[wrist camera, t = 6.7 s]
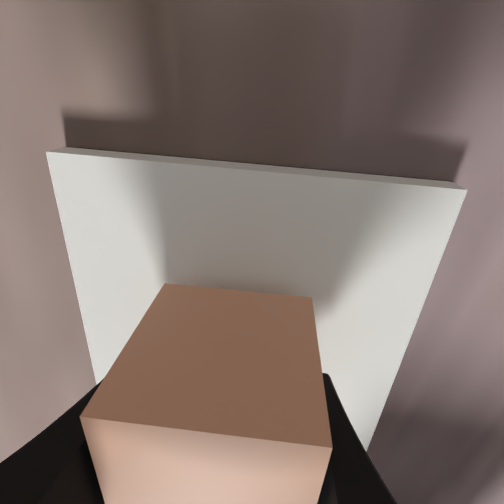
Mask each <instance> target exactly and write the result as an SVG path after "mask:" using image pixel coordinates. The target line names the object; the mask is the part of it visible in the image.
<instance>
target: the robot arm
mask: <svg viewBox="0 0 504 504" xmlns="http://www.w3.org/2000/svg"><path fill="white" fill-rule="evenodd" d="M322 375H323V382H324V389H325V396H326V403H327V411H328V418H329V425H330V432H331V439H332V447H333V449H332V452H331V456H330V459H329V463H328V467H327V470H326V474H325V477H324V481H323V485H322V488H321V492H320V495H319V499H318V502H317V504H397V503H396V501H395V500H394V498H393V497H392V495H391V493H390V492H389V490H388V489H387V487H386V485H385V484H384V482H383V480H382V479H381V477H380V475H379V474H378V472H377V470H376V468H375V467H374V465H373V463H372V462H371V460H370V458H369V456H368V454H367V453H366V451H365V449H364V447H363V445H362V443H361V441H360V440H359V438H358V436H357V434H356V432H355V430H354V428H353V426H352V424H351V422H350V420H349V418H348V416H347V414H346V412H345V410H344V408H343V406H342V403H341V401H340V399H339V397H338V394H337V392H336V390H335V387H334V385H333V383H332V380H331V377H330V376H329V375H328V374H327V373H322ZM102 381H103V380H101V381H100V382H99V383H98V384H97V385H96V386H95V387H94V388H93V389H92V390H90V391H89V392H88V393H87V394H86V395H85V396H84V397H83V398H82V399H80V400H79V401H78V402H77V403H76V404H75V405H74V406H72V407H71V408H70V409H69V410H68V411H66V412H65V413H64V414H63V415H62V416H60V417H59V418H58V419H57V420H56V421H54V422H53V423H52V424H51V425H50V426H48V427H47V428H46V429H45V430H43V431H42V432H41V433H40V434H38V435H37V436H36V437H35V438H33V439H32V440H31V441H29V442H28V443H27V444H25V445H24V446H23V447H21V448H20V449H19V450H17V451H16V452H15V453H13V454H12V455H11V456H9V457H8V458H7V459H5V460H4V461H2V462H1V463H0V504H105V502H104V499H103V495H102V492H101V488H100V485H99V482H98V478H97V475H96V471H95V468H94V464H93V461H92V458H91V454H90V451H89V447H88V444H87V440H86V437H85V434H84V430H83V427H82V423H81V420H80V415H81V414H82V412H83V411H84V409H85V407H86V406H87V404H88V403H89V401H90V400H91V398H92V396H93V395H94V393H95V392H96V390H97V389H98V387H99V385H100V384H101V382H102Z"/></svg>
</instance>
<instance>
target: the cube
mask: <svg viewBox="0 0 504 504" xmlns="http://www.w3.org/2000/svg"><path fill="white" fill-rule="evenodd" d="M80 420H81V423H82V427H83V430H84V434H85V437H86V440H87V444H88V447H89V451H90V454H91V458H92V461H93V464H94V468H95V471H96V475H97V478H98V482H99V485H100V488H101V492H102V495H103V499H104V502H105V504H317V502H318V499H319V495H320V492H321V488H322V485H323V481H324V477H325V474H326V470H327V467H328V463H329V459H330V456H331V452H332V449H333V447H332V439H331V432H330V425H329V418H328V411H327V403H326V396H325V389H324V382H323V375H322V367H321V360H320V353H319V346H318V338H317V331H316V324H315V317H314V310H313V302H312V297H301V296H291V295H281V294H271V293H260V292H250V291H240V290H229V289H219V288H209V287H199V286H188V285H178V284H168V283H164V285H163V286H162V288H161V289H160V291H159V293H158V294H157V296H156V297H155V299H154V300H153V302H152V304H151V305H150V307H149V308H148V310H147V311H146V313H145V315H144V316H143V318H142V319H141V321H140V323H139V324H138V326H137V327H136V329H135V330H134V332H133V334H132V335H131V337H130V338H129V340H128V341H127V343H126V345H125V346H124V348H123V349H122V351H121V352H120V354H119V356H118V357H117V359H116V360H115V362H114V363H113V365H112V367H111V368H110V370H109V371H108V373H107V374H106V376H105V378H104V379H103V381H102V382H101V384H100V385H99V387H98V389H97V390H96V392H95V393H94V395H93V396H92V398H91V400H90V401H89V403H88V404H87V406H86V407H85V409H84V411H83V412H82V414H81V415H80Z"/></svg>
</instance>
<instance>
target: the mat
mask: <svg viewBox="0 0 504 504" xmlns="http://www.w3.org/2000/svg"><path fill="white" fill-rule="evenodd" d="M46 155H47V160H48V165H49V169H50V174H51V178H52V183H53V187H54V192H55V197H56V201H57V206H58V210H59V215H60V219H61V224H62V228H63V233H64V238H65V242H66V247H67V251H68V256H69V260H70V265H71V270H72V274H73V279H74V283H75V288H76V292H77V297H78V302H79V306H80V311H81V315H82V320H83V324H84V329H85V333H86V338H87V343H88V347H89V352H90V356H91V361H92V365H93V370H94V375H95V379H96V384H98V383H99V382H100V381H101V380H103V379H104V378H105V376H106V374H107V373H108V371H109V370H110V368H111V367H112V365H113V363H114V362H115V360H116V359H117V357H118V356H119V354H120V352H121V351H122V349H123V348H124V346H125V345H126V343H127V341H128V340H129V338H130V337H131V335H132V334H133V332H134V330H135V329H136V327H137V326H138V324H139V323H140V321H141V319H142V318H143V316H144V315H145V313H146V311H147V310H148V308H149V307H150V305H151V304H152V302H153V300H154V299H155V297H156V296H157V294H158V293H159V291H160V289H161V288H162V286H163V285H164V283H168V284H178V285H188V286H199V287H209V288H219V289H229V290H240V291H250V292H260V293H271V294H281V295H291V296H301V297H312V302H313V310H314V317H315V324H316V331H317V338H318V346H319V353H320V360H321V367H322V373H327V374H328V375H329V376H330V377H331V380H332V383H333V385H334V387H335V390H336V392H337V394H338V397H339V399H340V401H341V403H342V406H343V408H344V410H345V412H346V414H347V416H348V418H349V420H350V422H351V424H352V426H353V428H354V430H355V432H356V434H357V436H358V438H359V440H360V441H361V443H362V445H363V447H364V449H365V451H366V452H367V449H368V446H369V444H370V441H371V439H372V436H373V434H374V431H375V428H376V426H377V423H378V421H379V418H380V415H381V413H382V410H383V408H384V405H385V402H386V400H387V397H388V395H389V392H390V390H391V387H392V384H393V382H394V379H395V377H396V374H397V371H398V369H399V366H400V364H401V361H402V358H403V356H404V353H405V351H406V348H407V346H408V343H409V340H410V338H411V335H412V333H413V330H414V327H415V325H416V322H417V320H418V317H419V315H420V312H421V309H422V307H423V304H424V302H425V299H426V296H427V294H428V291H429V289H430V286H431V283H432V281H433V278H434V276H435V273H436V271H437V268H438V265H439V263H440V260H441V258H442V255H443V252H444V250H445V247H446V245H447V242H448V239H449V237H450V234H451V232H452V229H453V227H454V224H455V221H456V219H457V216H458V214H459V211H460V208H461V206H462V203H463V201H464V198H465V196H466V193H467V189H465V188H463V187H461V186H459V185H457V184H455V183H453V182H449V181H438V180H427V179H416V178H405V177H394V176H383V175H371V174H360V173H349V172H338V171H327V170H316V169H305V168H294V167H282V166H271V165H260V164H249V163H238V162H227V161H216V160H205V159H194V158H182V157H171V156H160V155H149V154H138V153H127V152H116V151H105V150H93V149H82V148H71V147H63V148H59V149H54V150H50V151H46Z"/></svg>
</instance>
